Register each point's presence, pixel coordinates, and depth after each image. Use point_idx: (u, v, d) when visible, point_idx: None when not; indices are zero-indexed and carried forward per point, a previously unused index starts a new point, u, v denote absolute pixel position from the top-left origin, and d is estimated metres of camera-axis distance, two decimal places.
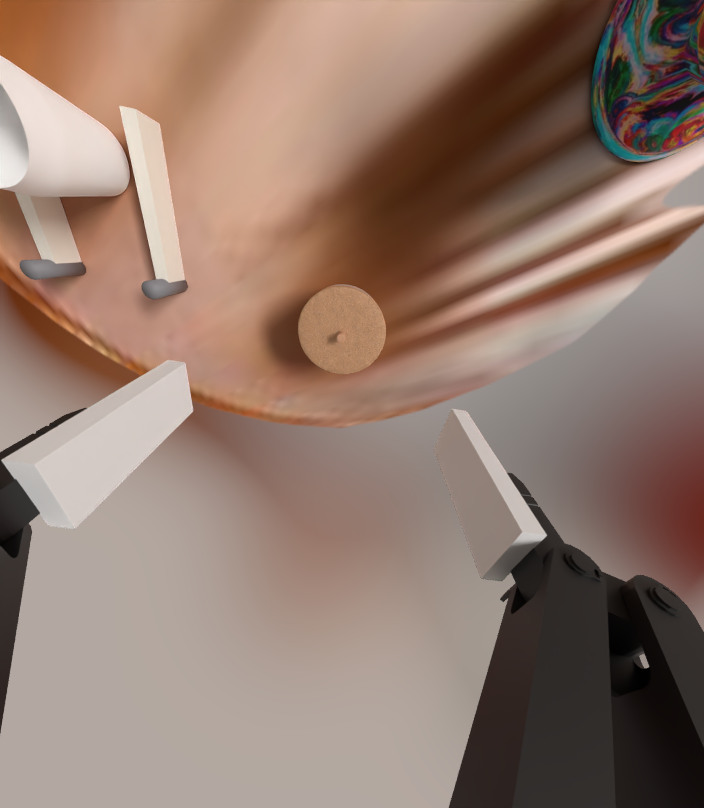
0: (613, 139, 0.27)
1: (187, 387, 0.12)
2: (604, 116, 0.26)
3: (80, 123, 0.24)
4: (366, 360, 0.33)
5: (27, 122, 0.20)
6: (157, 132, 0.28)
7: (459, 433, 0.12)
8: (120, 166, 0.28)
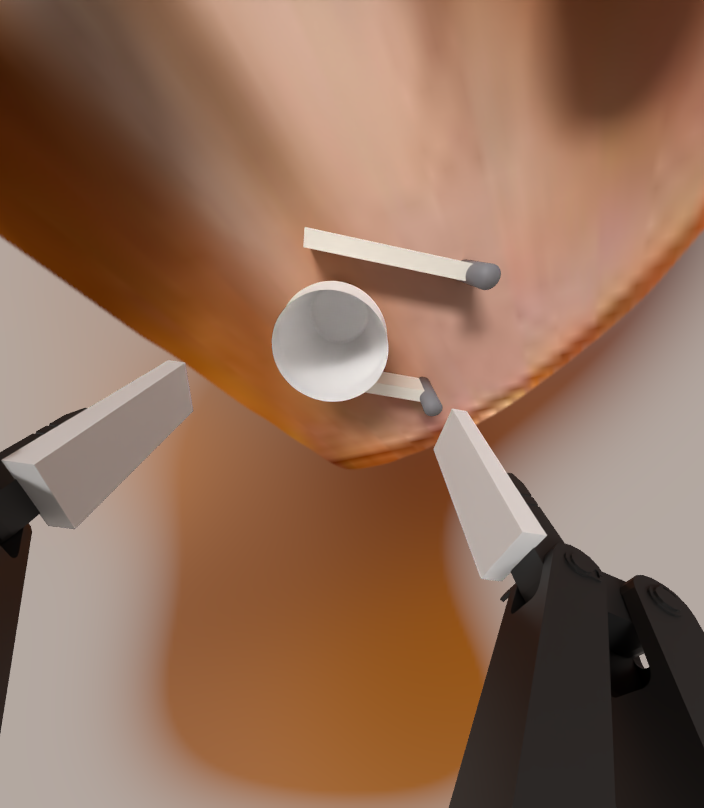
0: None
1: (187, 387, 0.12)
2: None
3: None
4: None
5: (335, 289, 0.17)
6: None
7: (458, 432, 0.12)
8: None
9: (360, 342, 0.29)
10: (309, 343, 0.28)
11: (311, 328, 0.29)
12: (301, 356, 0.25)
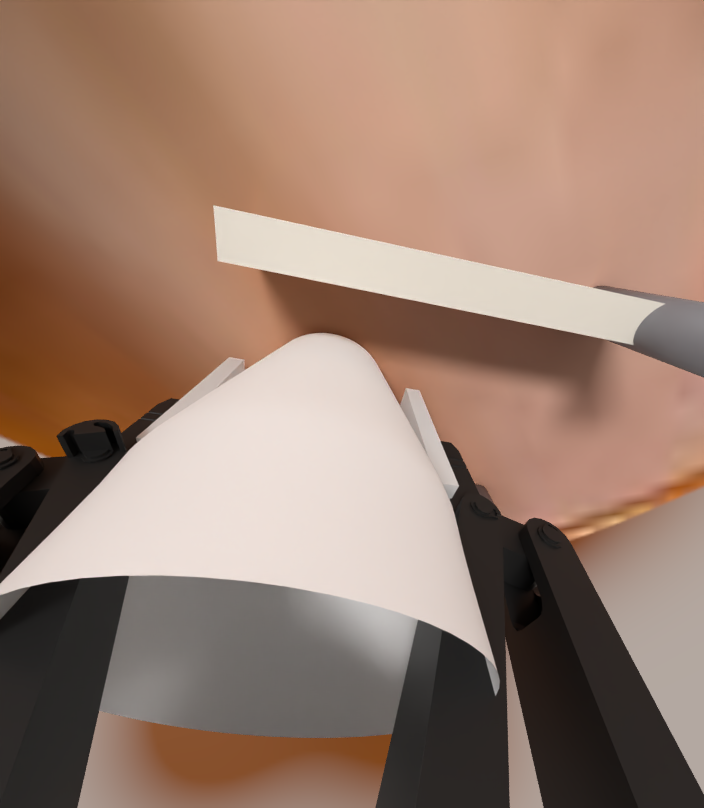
0: None
1: None
2: None
3: (263, 364, 0.08)
4: None
5: (238, 538, 0.03)
6: None
7: (408, 408, 0.13)
8: (341, 342, 0.12)
9: None
10: None
11: None
12: None
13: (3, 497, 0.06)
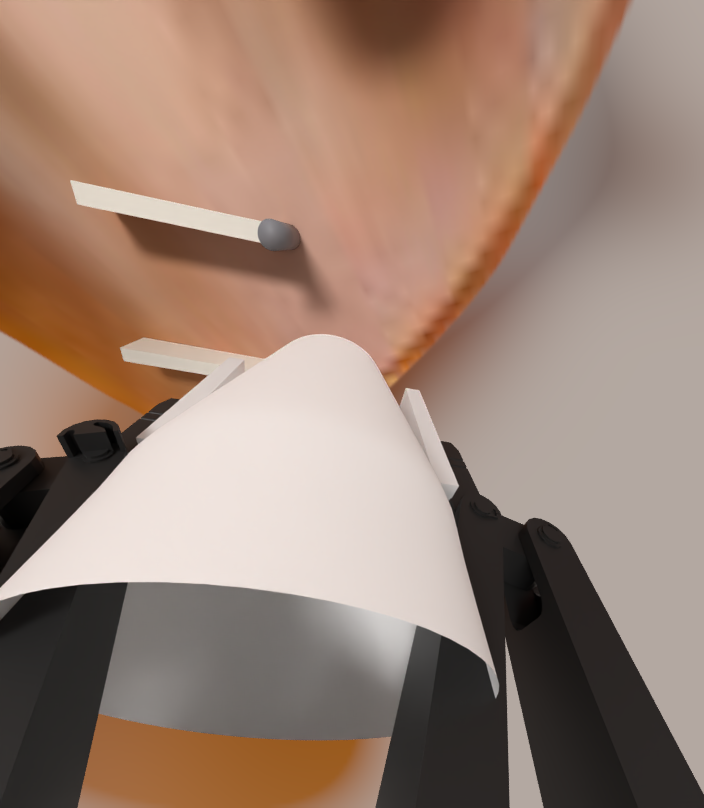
0: None
1: None
2: None
3: (263, 366, 0.08)
4: None
5: (238, 543, 0.03)
6: None
7: (408, 408, 0.13)
8: (341, 343, 0.12)
9: None
10: None
11: None
12: None
13: (3, 497, 0.06)
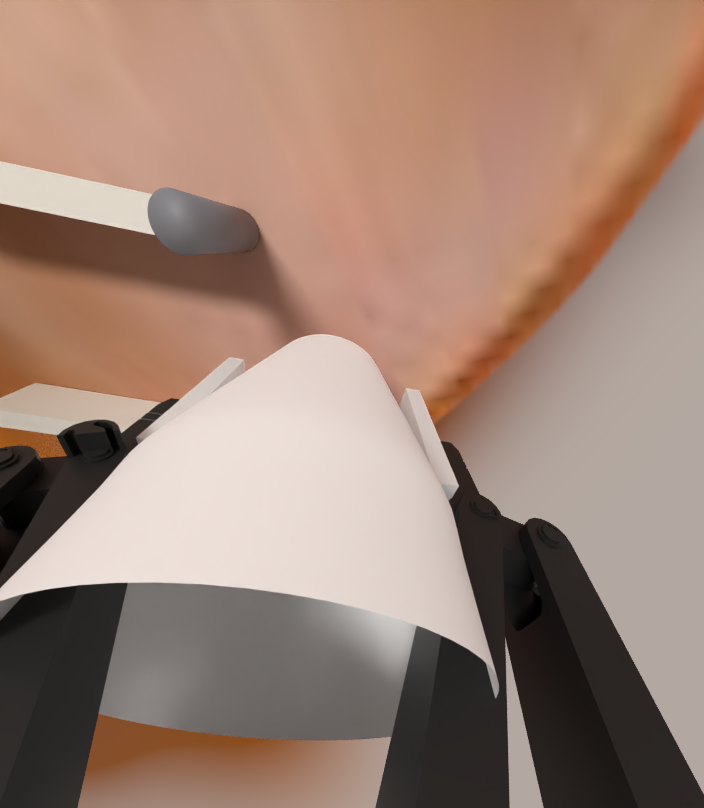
0: None
1: None
2: None
3: (263, 366, 0.08)
4: None
5: (238, 543, 0.03)
6: None
7: (408, 408, 0.13)
8: (341, 343, 0.12)
9: None
10: None
11: None
12: None
13: (3, 497, 0.06)
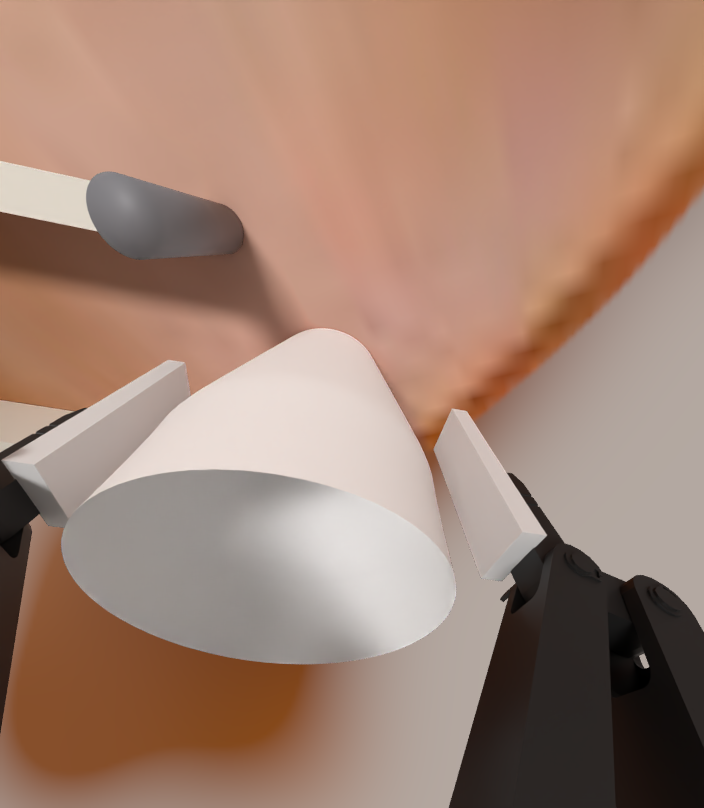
0: None
1: (187, 387, 0.12)
2: None
3: (272, 351, 0.09)
4: None
5: (264, 452, 0.04)
6: None
7: (459, 433, 0.12)
8: (339, 335, 0.13)
9: None
10: None
11: None
12: (238, 491, 0.12)
13: None
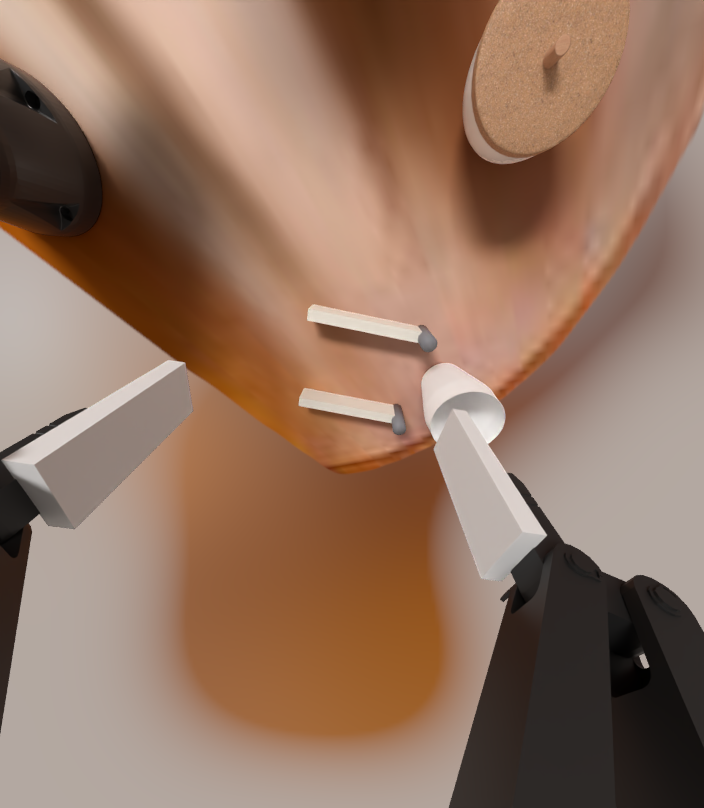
0: None
1: (187, 387, 0.12)
2: None
3: (450, 373, 0.35)
4: None
5: (479, 390, 0.30)
6: (318, 306, 0.36)
7: (459, 433, 0.12)
8: (456, 366, 0.38)
9: (457, 402, 0.41)
10: None
11: None
12: None
13: None
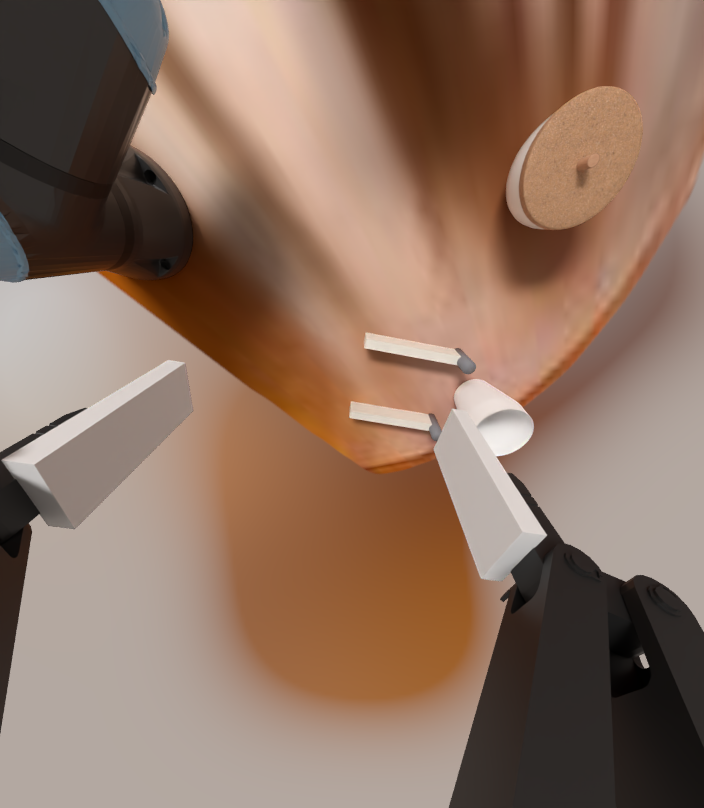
0: None
1: (187, 387, 0.12)
2: None
3: (484, 390, 0.41)
4: (633, 121, 0.24)
5: (514, 408, 0.36)
6: (370, 334, 0.42)
7: (459, 433, 0.12)
8: (486, 382, 0.45)
9: None
10: None
11: (455, 403, 0.48)
12: None
13: None
